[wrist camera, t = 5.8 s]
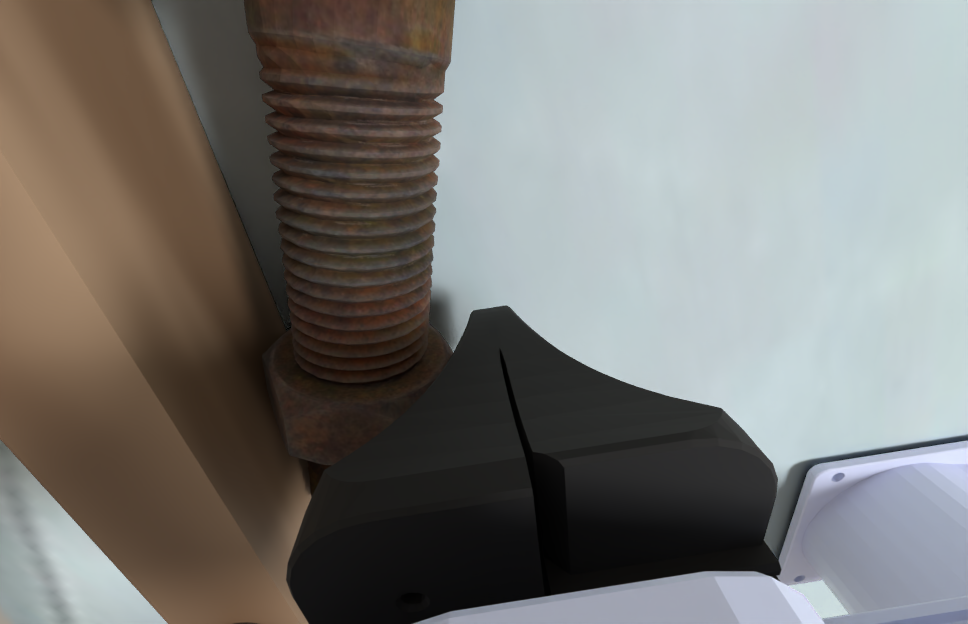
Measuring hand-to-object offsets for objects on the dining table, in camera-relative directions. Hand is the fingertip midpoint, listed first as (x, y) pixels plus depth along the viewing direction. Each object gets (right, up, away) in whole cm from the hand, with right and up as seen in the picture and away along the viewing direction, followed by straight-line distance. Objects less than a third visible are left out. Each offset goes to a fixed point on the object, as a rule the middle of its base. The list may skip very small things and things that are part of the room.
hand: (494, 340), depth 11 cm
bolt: (-3, +3, 0) cm, 4 cm away
